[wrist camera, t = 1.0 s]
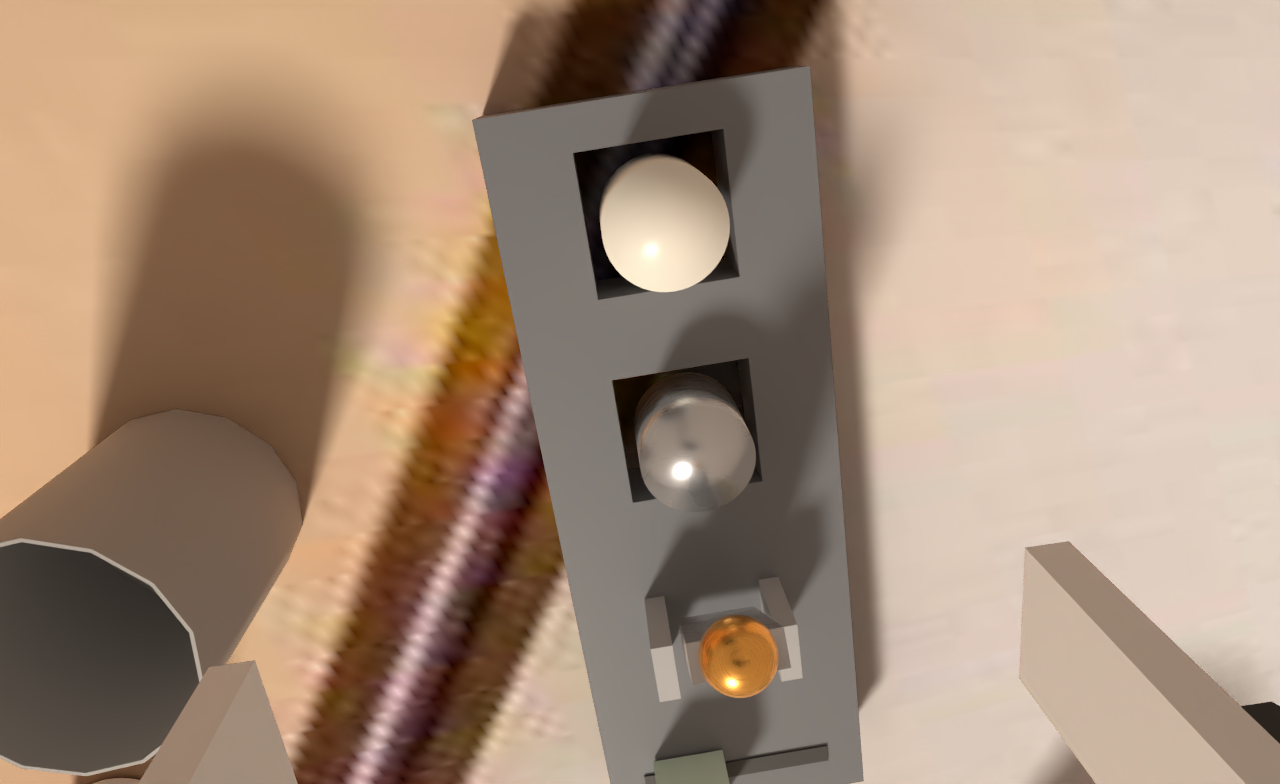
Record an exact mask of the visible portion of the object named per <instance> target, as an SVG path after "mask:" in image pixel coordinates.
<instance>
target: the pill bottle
mask: <svg viewBox="0 0 1280 784" xmlns="http://www.w3.org/2000/svg"><path fill="white" fill-rule="evenodd" d="M139 781H140V780H138V779H131V778H112V779H106V780H102V781H98V782H95V783H93V784H138V783H139Z"/></svg>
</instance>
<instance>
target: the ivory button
mask: <svg viewBox="0 0 1280 784" xmlns="http://www.w3.org/2000/svg"><path fill="white" fill-rule="evenodd" d="M599 219H600V227H601V233H602V240H603V244H604V248H605V251H606V253H607V256H608V258H609V260H610V262H611V263H612V265H613V266H614V267H615V269H616V270H617V271H618V272H619V273H620V274H621V275H622V276H623V277H624V278H625V279H627V280H628V281H629V282H631V283H633V284H634V285H636V286H638V287H641V288H643V289H646V290H650V291H655V292H674V291H679V290H683V289H686V288H688V287H691V286H693V285H695V284H697V283H698V282H700V281H701V280H703V279H704V278H705V277H707V276H708V275H709V274H710V273H711V272H712V271H713V270H714V268H715V267H716V266H717V265H718V263H719V262H720V260H721V258H722V256H723V254H724V252H725V250H726V247H727V244H728V239H729V232H730V219H729V213H728V209H727V206H726V203H725V200H724V198H723V196H722V194H721V193H720V191H719V190H718V188H717V187H716V186H715V185H714V183H713V182H712V181H711V180H710V179H708V178H707V177H706V176H705V175H704V174H702V173H701V172H700V171H699V170H697V169H696V168H695V167H693V166H692V165H691V164H689V163H688V162H686V161H685V160H683V159H681V158H679V157H676V156H673V155H669V154H663V153H652V154H645V155H641V156H638V157H636V158H633V159H631V160H629V161H628V162H626V163H625V164H623V165H622V166H620V167H619V168H618V169H617V170H616V171H615V172H614V173H613V175H612V176H611V177H610V178H609V180H608V182H607V183H606V185H605V187H604V190H603V192H602V195H601V199H600V205H599Z"/></svg>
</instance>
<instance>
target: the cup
mask: <svg viewBox="0 0 1280 784" xmlns="http://www.w3.org/2000/svg"><path fill="white" fill-rule="evenodd" d="M302 525H303V522H302V515H301V508H300V501H299V495H298V488H297V482H296V481H295V479H294V478H293V476H292V475H291V474H290V472H289V471H288V469H287V468H286V467H285V465H284V464H283V462H282V461H281V459H280V458H279V457H278V455H277V454H276V452H275V451H274V449H273V448H272V447H271V445H270V444H268V443H267V442H265V441H264V440H262V439H260V438H259V437H257V436H256V435H254V434H252V433H251V432H249V431H247V430H246V429H244V428H243V427H241V426H239V425H238V424H236V423H235V422H233V421H231V420H230V419H228V418H225V417H220V416H214V415H209V414H203V413H197V412H192V411H186V410H180V409H174V410H170V411H165V412H161V413H157V414H153V415H149V416H144V417H140V418H136V419H132V420H129V421H128V422H126V423H125V424H124V425H123V426H121V427H120V428H119V429H117V430H116V431H115V432H113V433H112V434H111V435H110V436H108V437H107V438H106V439H104V440H103V441H102V442H100V443H99V444H98V445H96V446H95V447H94V448H93V449H91V450H90V451H89V452H87V453H86V454H85V455H83V456H82V457H81V458H80V459H78V460H77V461H76V462H74V463H73V464H72V465H70V466H69V467H68V468H66V469H65V470H64V471H63V472H61V473H60V474H59V475H57V476H56V477H55V478H53V479H52V480H51V481H50V482H48V483H47V484H46V485H44V486H43V487H42V488H40V489H39V490H38V491H36V492H35V493H34V494H33V495H31V496H30V497H29V498H27V499H26V500H25V501H23V502H22V503H21V504H19V505H18V506H17V507H16V508H14V509H13V510H12V511H10V512H9V513H8V514H6V515H5V516H4V517H3V518H1V519H0V759H3V760H5V761H7V762H9V763H11V764H13V765H15V766H17V767H20V768H22V769H30V770H38V771H46V772H55V773H63V774H71V775H80V776H90V775H94V774H98V773H103V772H107V771H111V770H116V769H120V768H124V767H129V766H133V765H137V764H142V763H145V762H146V761H147V760H149V759H150V758H151V757H153V756H154V755H155V754H156V753H157V752H158V750H159V748H160V747H161V745H162V743H163V742H164V740H165V739H166V737H167V735H168V734H169V732H170V730H171V729H172V727H173V725H174V724H175V722H176V720H177V719H178V717H179V715H180V714H181V712H182V711H183V709H184V707H185V706H186V704H187V702H188V701H189V699H190V697H191V696H192V694H193V692H194V691H195V689H196V687H197V686H198V684H199V683H200V681H201V679H202V678H203V676H204V674H205V673H206V671H207V669H208V668H209V667H213V666H220V665H226V663H227V662H228V660H229V658H230V657H231V655H232V653H233V652H234V650H235V648H236V647H237V645H238V643H239V642H240V640H241V638H242V637H243V635H244V633H245V632H246V630H247V628H248V627H249V625H250V623H251V622H252V620H253V618H254V617H255V615H256V613H257V612H258V610H259V608H260V606H261V605H262V603H263V601H264V600H265V598H266V596H267V595H268V593H269V591H270V590H271V588H272V586H273V585H274V583H275V581H276V580H277V578H278V576H279V575H280V573H281V571H282V570H283V568H284V566H285V565H286V563H287V561H288V559H289V557H290V554H291V552H292V549H293V547H294V544H295V542H296V540H297V537H298V535H299V532H300V530H301V527H302Z"/></svg>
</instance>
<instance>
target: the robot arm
mask: <svg viewBox="0 0 1280 784" xmlns="http://www.w3.org/2000/svg"><path fill="white" fill-rule="evenodd" d="M1019 679H1020V680H1021V682H1022V683H1023V684H1024V686H1025V687H1026V688H1027V690H1028V691H1029V693H1030V694H1031V695H1032V697H1033V698H1034V699H1035V701H1036V702H1037V704H1038V705H1039V706H1040V708H1041V709H1042V710H1043V712H1044V713H1045V715H1046V716H1047V717H1048V719H1049V720H1050V721H1051V723H1052V724H1053V726H1054V727H1055V728H1056V730H1057V731H1058V732H1059V734H1060V735H1061V737H1062V738H1063V739H1064V741H1065V742H1066V743H1067V745H1068V746H1069V748H1070V749H1071V750H1072V752H1073V753H1074V754H1075V756H1076V757H1077V759H1078V760H1079V761H1080V763H1081V764H1082V765H1083V767H1084V768H1085V770H1086V771H1087V772H1088V774H1089V775H1090V776H1091V778H1092V779H1093V781H1094V782H1095V783H1096V784H1280V706H1278V705H1277V704H1275V703H1273V702H1266V703H1260V704H1253V705H1246V706H1240V705H1239V704H1238V703H1237V702H1236V701H1235V700H1233V699H1232V698H1231V697H1230V696H1229V695H1228V694H1227V693H1226V692H1225V691H1224V690H1223V689H1222V688H1221V687H1220V686H1219V685H1218V684H1217V683H1216V682H1215V681H1214V680H1213V679H1212V678H1211V677H1210V676H1208V675H1207V674H1206V673H1205V672H1204V671H1203V670H1202V669H1201V668H1200V667H1199V666H1198V665H1197V664H1196V663H1195V662H1194V661H1193V660H1192V659H1191V658H1190V657H1189V656H1188V655H1187V654H1186V653H1185V652H1183V651H1182V650H1181V649H1180V648H1179V647H1178V646H1177V645H1176V644H1175V643H1174V642H1173V641H1172V640H1171V639H1170V638H1169V637H1168V636H1167V635H1166V634H1165V633H1164V632H1163V631H1162V630H1161V629H1160V628H1159V627H1157V626H1156V625H1155V624H1154V623H1153V622H1152V621H1151V620H1150V619H1149V618H1148V617H1147V616H1146V615H1145V614H1144V613H1143V612H1142V611H1141V610H1140V609H1139V608H1138V607H1137V606H1136V605H1135V604H1134V603H1132V602H1131V601H1130V600H1129V599H1128V598H1127V597H1126V596H1125V595H1124V594H1123V593H1122V592H1121V591H1120V590H1119V589H1118V588H1117V587H1116V586H1115V585H1114V584H1113V583H1112V582H1111V581H1110V580H1109V579H1107V578H1106V577H1105V576H1104V575H1103V574H1102V573H1101V572H1100V571H1099V570H1098V569H1097V568H1096V567H1095V566H1094V565H1093V564H1092V563H1091V562H1090V561H1089V560H1088V559H1087V558H1086V557H1085V556H1084V555H1083V554H1081V553H1080V552H1079V551H1078V550H1077V549H1076V548H1075V547H1074V546H1073V545H1072V544H1071V543H1070V542H1069V541H1068V542H1061V543H1054V544H1048V545H1041V546H1034V547H1027V548H1025V557H1024V579H1023V601H1022V624H1021V646H1020V668H1019ZM138 784H297V781H296V778H295V775H294V772H293V769H292V766H291V763H290V761H289V758H288V755H287V752H286V749H285V746H284V743H283V740H282V737H281V735H280V732H279V729H278V726H277V723H276V720H275V717H274V714H273V711H272V709H271V706H270V703H269V700H268V697H267V694H266V691H265V688H264V686H263V683H262V680H261V677H260V674H259V671H258V668H257V665H256V662H255V660H254V661H247V662H240V663H234V664H227V665H220V666H213V667H209V668H208V669H207V671H206V673H205V674H204V676H203V678H202V679H201V681H200V683H199V684H198V686H197V687H196V689H195V691H194V692H193V694H192V696H191V697H190V699H189V701H188V702H187V704H186V706H185V707H184V709H183V711H182V712H181V714H180V715H179V717H178V719H177V720H176V722H175V724H174V725H173V727H172V729H171V730H170V732H169V734H168V735H167V737H166V739H165V740H164V742H163V743H162V745H161V747H160V748H159V750H158V752H157V753H156V755H155V757H154V758H153V760H152V762H151V763H150V765H149V767H148V768H147V770H146V771H145V773H144V775H143V776H142V778H141V780H140V781H139V783H138Z"/></svg>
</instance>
